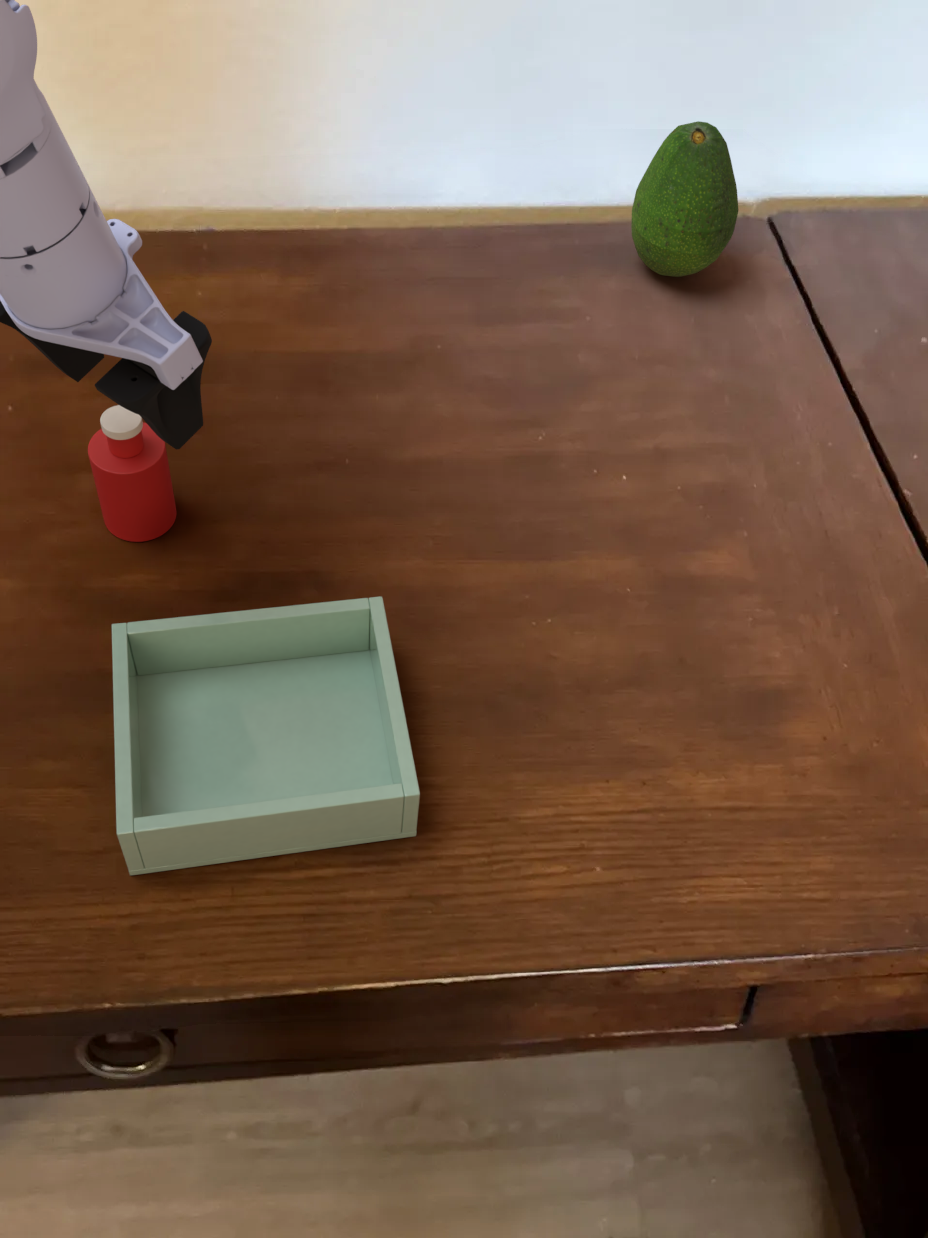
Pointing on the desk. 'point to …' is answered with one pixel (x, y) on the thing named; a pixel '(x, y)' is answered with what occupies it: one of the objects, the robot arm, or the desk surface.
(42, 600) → the desk surface
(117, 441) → the bottle
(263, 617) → the tray
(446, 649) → the desk surface
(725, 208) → the fruit
